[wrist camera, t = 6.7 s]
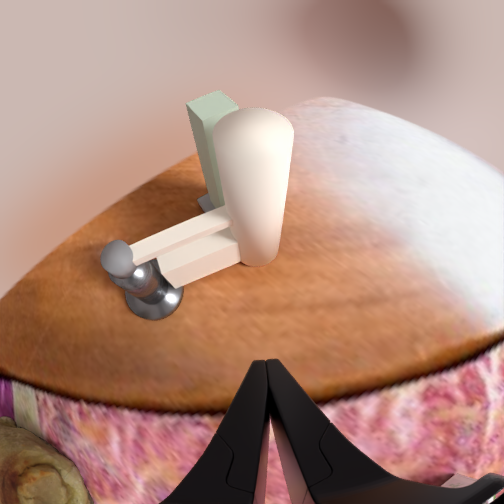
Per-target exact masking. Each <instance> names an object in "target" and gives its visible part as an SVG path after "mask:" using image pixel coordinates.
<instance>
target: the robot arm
mask: <svg viewBox="0 0 504 504" xmlns="http://www.w3.org/2000/svg"><path fill="white" fill-rule="evenodd" d="M270 419H271V424H272V428H273V432H274V436H275V440H276V444H277V448H278V452H279V456H280V460H281V464H282V468H283V472H284V476H285V480H286V484H287V488H288V492H289V495H290V499H291V503H292V504H504V492H503V493H502V494H501V495H499V496H498V497H497V498H496V499H494V500H493V501H492V502H490V503H488V500H489V499H490V498H492V497H493V496H494V495H496V494H497V493H498V492H499V491H501V490H502V489H503V488H504V476H502V475H499V474H495V473H488V474H486V475H485V476H483V477H481V478H480V479H478V480H477V481H475V482H474V483H472V484H470V485H468V486H465V487H460V488H448V487H441V486H435V485H429V484H424V483H419V482H414V481H409V480H405V479H401V478H399V477H396V476H394V475H392V474H390V473H389V472H387V471H386V470H384V469H383V468H382V467H381V466H379V465H378V464H377V463H375V462H374V461H373V460H372V459H370V458H369V457H368V456H366V455H365V454H364V453H363V452H361V451H360V450H359V449H358V448H357V447H356V446H354V445H353V444H352V443H351V442H350V441H349V440H348V439H347V438H346V437H345V436H344V435H343V434H342V433H341V432H340V431H339V430H338V429H337V428H336V427H335V426H334V424H333V423H330V420H329V419H328V418H327V417H326V415H325V414H324V413H323V412H322V411H321V410H320V408H319V407H318V406H317V405H316V404H315V403H314V401H313V400H312V399H311V398H310V397H309V396H308V394H307V393H306V392H305V391H304V390H303V388H302V387H301V386H300V385H299V384H298V382H297V381H296V380H295V379H294V378H293V376H292V375H291V374H290V373H289V372H288V370H287V369H286V368H285V367H284V365H283V364H282V363H281V362H280V360H279V359H267V360H266V362H265V360H254V361H253V362H252V363H251V366H250V368H249V370H248V372H247V374H246V376H245V377H244V379H243V381H242V383H241V385H240V387H239V389H238V391H237V393H236V395H235V397H234V399H233V401H232V403H231V405H230V407H229V409H228V410H227V412H226V414H225V416H224V418H223V420H222V422H221V424H220V425H219V427H218V429H217V431H216V433H215V434H214V436H213V438H212V440H211V442H210V443H209V445H208V447H207V448H206V450H205V451H204V453H203V455H202V456H201V457H200V459H199V460H198V461H197V463H196V464H195V465H194V467H193V468H192V469H191V470H190V472H189V473H188V474H187V475H186V476H185V478H184V479H183V480H182V481H181V482H180V484H179V485H178V486H177V487H176V488H175V490H174V491H173V492H172V493H171V494H170V495H169V496H168V497H167V498H166V499H164V500H163V501H162V502H160V503H159V504H265V491H266V478H267V463H268V448H269V431H270Z"/></svg>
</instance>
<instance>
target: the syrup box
mask: <svg viewBox="0 0 504 504" xmlns="http://www.w3.org/2000/svg"><path fill="white" fill-rule="evenodd" d="M475 481H477V479H474V478H471V477H467V476H464V475H461V474H458V473H457V474H455V475H454V476H453V477H451V478H450V479H449V480H448V481H446V482H445V483H444V484H443V485H441V487H448V488H460V487H465V486H468V485H470V484H472V483H474V482H475ZM494 499H495V495H494V496H493V497H492V498H490V499H489V500H488V503H490V502H492V501H493V500H494Z"/></svg>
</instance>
